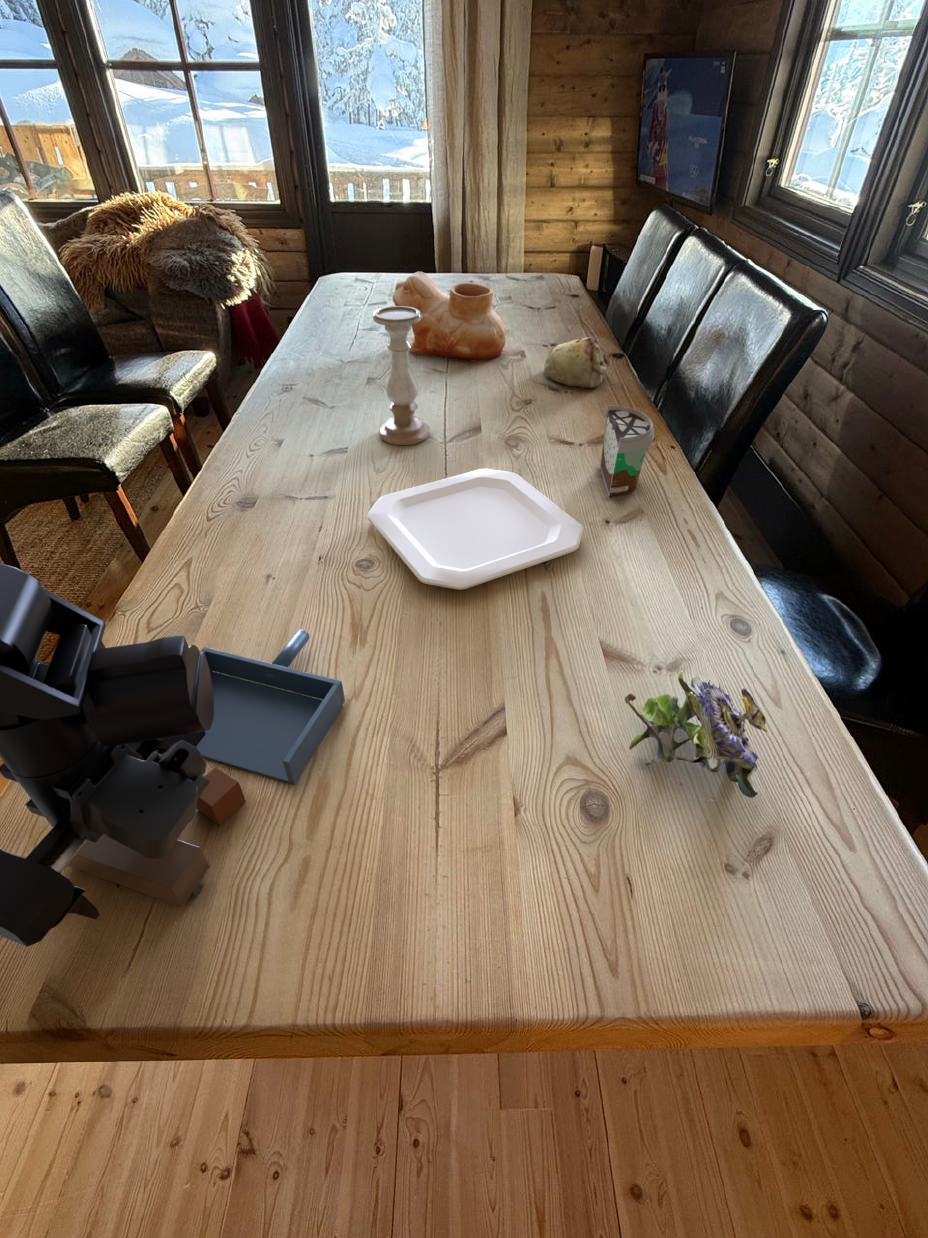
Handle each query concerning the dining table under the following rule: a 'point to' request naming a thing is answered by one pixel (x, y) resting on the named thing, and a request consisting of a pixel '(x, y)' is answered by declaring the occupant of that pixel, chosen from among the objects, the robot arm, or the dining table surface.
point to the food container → (624, 448)
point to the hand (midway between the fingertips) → (133, 863)
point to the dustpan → (268, 712)
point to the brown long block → (146, 868)
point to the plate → (473, 528)
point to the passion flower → (704, 729)
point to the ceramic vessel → (452, 319)
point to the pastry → (576, 363)
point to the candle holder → (401, 378)
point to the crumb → (220, 797)
